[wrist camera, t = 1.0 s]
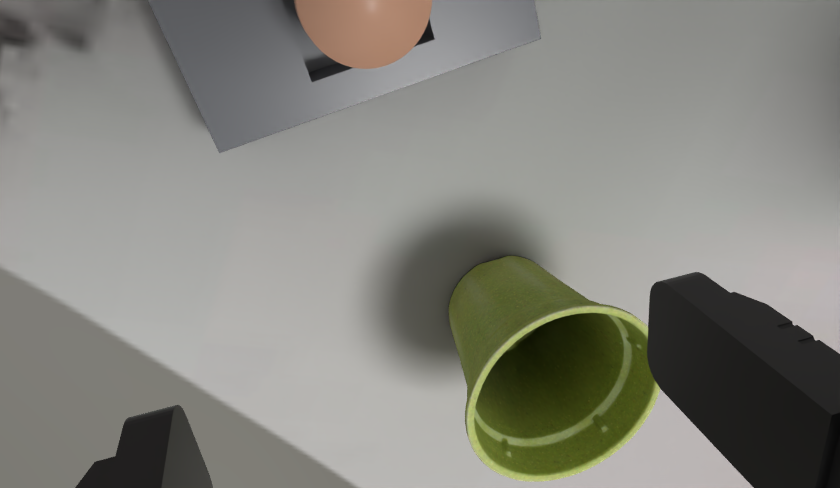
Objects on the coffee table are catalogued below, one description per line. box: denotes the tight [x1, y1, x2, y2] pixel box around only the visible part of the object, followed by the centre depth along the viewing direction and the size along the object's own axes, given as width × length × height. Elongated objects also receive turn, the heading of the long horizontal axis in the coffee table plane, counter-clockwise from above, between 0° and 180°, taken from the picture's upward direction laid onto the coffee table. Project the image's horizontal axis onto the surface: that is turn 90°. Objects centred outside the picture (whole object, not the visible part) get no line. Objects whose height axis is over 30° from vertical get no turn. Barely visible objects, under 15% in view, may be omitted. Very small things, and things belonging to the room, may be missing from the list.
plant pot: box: [449, 256, 660, 482], centre depth 31 cm, size 9×9×9 cm
